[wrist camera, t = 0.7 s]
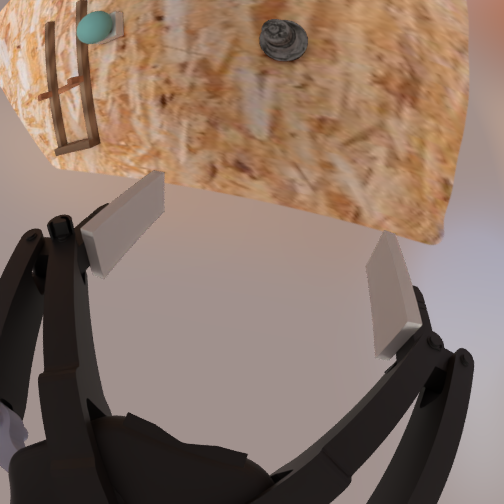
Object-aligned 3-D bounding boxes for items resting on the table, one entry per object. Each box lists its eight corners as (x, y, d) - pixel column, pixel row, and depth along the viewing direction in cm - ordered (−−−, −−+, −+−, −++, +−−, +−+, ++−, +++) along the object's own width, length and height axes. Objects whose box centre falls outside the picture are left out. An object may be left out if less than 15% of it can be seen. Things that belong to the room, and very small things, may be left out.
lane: (51, 23, 26) (34, 25, 23) (87, 0, 24) (69, -1, 20) (65, 151, 44) (49, 159, 41) (100, 143, 42) (83, 151, 38)
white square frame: (101, 21, 27) (94, 21, 26) (122, 12, 26) (115, 11, 25) (102, 43, 30) (95, 44, 29) (123, 35, 29) (116, 34, 28)
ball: (93, 20, 26) (69, 19, 21) (119, 7, 25) (95, 4, 20) (94, 48, 29) (69, 50, 25) (120, 36, 28) (95, 36, 23)
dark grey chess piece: (283, 71, 30) (268, 66, 21) (255, 41, 28) (229, 25, 19) (317, 48, 27) (318, 33, 18) (289, 17, 25) (276, -8, 16)
